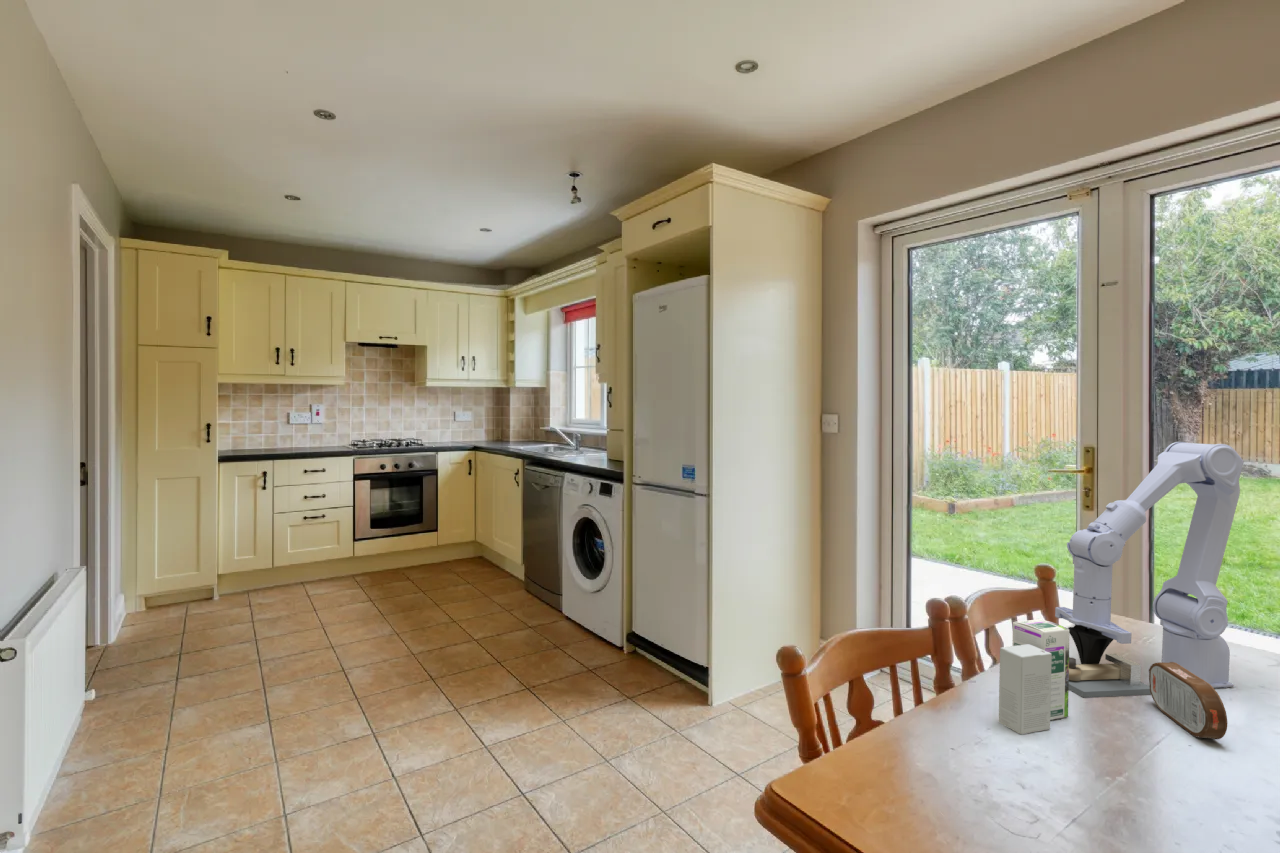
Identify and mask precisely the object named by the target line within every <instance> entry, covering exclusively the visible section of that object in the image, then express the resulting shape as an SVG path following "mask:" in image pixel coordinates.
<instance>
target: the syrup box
mask: <svg viewBox="0 0 1280 853" xmlns="http://www.w3.org/2000/svg"><path fill="white" fill-rule="evenodd" d="M1068 628H1069V627H1065V626H1063V625H1060V624H1059V623H1055V622H1053V621H1049V620H1045V619H1041V618H1035V619H1031V620H1030V619H1028V620H1020V621H1013V622H1012V645H1011V646H1018V645H1025V644H1030V645H1032V646H1035V647H1037V648H1040V649H1042V650H1045V651H1047V652H1049V653H1051V654H1052V664H1051V712H1050V721H1051V720H1052V721H1053V720H1056V719H1062V718H1065V719H1066V718H1068V717H1069V689H1068V687H1069V657H1070V633H1069V629H1068Z"/></svg>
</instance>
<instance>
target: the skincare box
mask: <svg viewBox="0 0 1280 853" xmlns="http://www.w3.org/2000/svg"><path fill="white" fill-rule="evenodd" d="M1051 664H1052V654H1051V653H1049V652H1047V651H1045V650H1042V649H1040V648H1037V647H1035V646H1032V645H1030V644H1025V645H1018V646H1012V645H1010V646H1003V647H1000V648H999V682H998V684H999V685H998V688H999V689H998V692H999V693H998V723H999V724H1001V725H1003V726H1005V727H1007V728H1009V729H1010V730H1011V731H1013V732H1015V733H1018V734H1019V735H1025V734H1031V733H1035V732H1042V731H1046V730H1047V731H1048V730H1050V729H1051V720H1050V712H1051Z"/></svg>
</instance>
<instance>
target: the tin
mask: <svg viewBox="0 0 1280 853" xmlns="http://www.w3.org/2000/svg"><path fill="white" fill-rule="evenodd" d="M1148 681H1149V686H1150V692H1151V698H1152V700H1153V702H1154V704H1155V705H1156V706H1157V709H1159V710H1160V711H1161V712H1162V713H1163V714H1164V715H1166V716H1167V717H1169V718H1170V719H1171V720H1172V721H1173V722H1174V723H1176V724H1177V725H1178V726H1180V727H1181V728H1182V729H1184V730H1185V731H1186V732H1188V733H1189V734H1190V735H1192V736H1194V737H1196V738H1201V739H1213V740H1220V739H1223V738H1224V737H1225V735H1226V733H1227V730H1228V716H1227V711H1226V708H1225V706H1224V705H1225V704H1224V703H1223V700H1222V698H1221V697H1220V694H1219V693H1218V691H1217V690H1216V689H1215V688H1213V687H1212V686H1211V685H1210V684H1209V683H1207V682H1206V681H1204V680H1203V679H1201V678H1199V677H1198V676H1196V675H1195V674H1193V673H1191V672H1190V671H1188V670H1187V669H1185V668H1183V667H1182V666H1180V665H1179V664H1177V663H1175V662H1169V663H1162V661H1160V662H1154V663H1153V664H1151V665H1150V667H1149V668H1148Z"/></svg>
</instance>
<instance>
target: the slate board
mask: <svg viewBox="0 0 1280 853" xmlns="http://www.w3.org/2000/svg"><path fill="white" fill-rule="evenodd" d="M1076 665H1081V663H1080V664H1077V663H1076ZM1068 691H1071V692H1072V693H1074V694H1076V695H1078V696H1080V697H1082V698H1085V699H1086V698H1087V699H1088V698H1105V697H1124V696H1126V697H1127V696H1129V697H1130V696H1144V695H1145V696H1147V695H1148V696H1149V695H1151V692H1150V685H1149V684H1146V683H1144V682H1141V683H1140V686H1129V685H1127V684H1125V683H1123V682H1121V681H1120V679H1101V680H1080V681H1072V680H1069V687H1068ZM1151 696H1152V695H1151Z"/></svg>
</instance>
